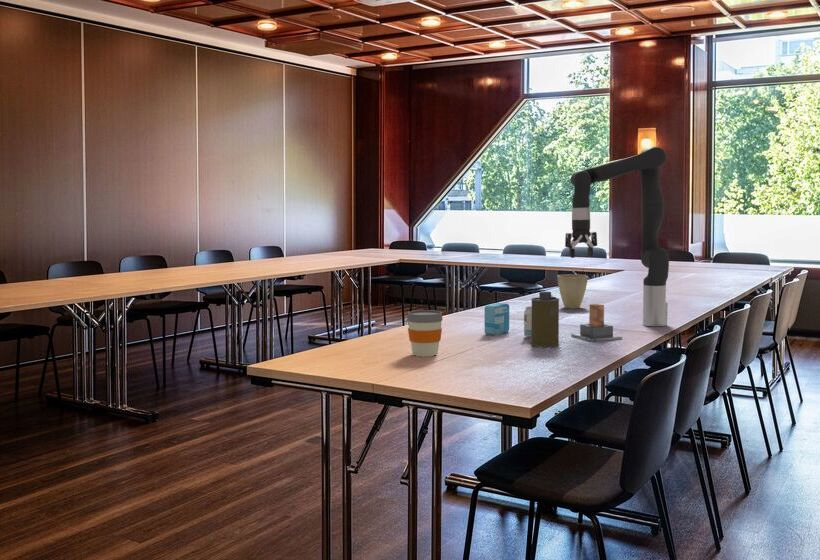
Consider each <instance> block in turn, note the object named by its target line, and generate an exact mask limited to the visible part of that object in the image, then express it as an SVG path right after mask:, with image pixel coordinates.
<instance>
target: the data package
mask: <svg viewBox="0 0 820 560" xmlns="http://www.w3.org/2000/svg"><path fill="white" fill-rule="evenodd" d="M509 331H510V305H509V303H505V302H504V303H503V302H497V303H490V304H486V305H485V306H484V334H485V335H486V336H487V335H488V336H499V335H503V334H506V333H509Z"/></svg>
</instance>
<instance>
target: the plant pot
mask: <svg viewBox="0 0 820 560" xmlns="http://www.w3.org/2000/svg"><path fill="white" fill-rule="evenodd" d="M588 278H589V276H588V275H586V274H573V273H571V274H558V275H557V284H558V290H559V295H560V297H561V302H562V304H563V306H564V308H565V309H570V308H571V310H572V309H580V307H581V305H582V303H583V300H584V297H585V293H586V289H587V285H588Z"/></svg>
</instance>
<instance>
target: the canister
mask: <svg viewBox="0 0 820 560" xmlns="http://www.w3.org/2000/svg"><path fill="white" fill-rule="evenodd" d="M538 294H539V296H538V297H532V298H530V300H531V307H532V339H531V343H530V345H531V346H532V347H536V348H537V347H538V348H556V347H558V346H560V341H559V338H560V335H559V333H560V332H559V329H560V325H559V324H560V323H559V322H560V319H559V318H560V317H559V316H560V298H559V297H556V296H553V295H552V292H551V291H540V292H538Z"/></svg>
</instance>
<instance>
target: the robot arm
mask: <svg viewBox="0 0 820 560" xmlns="http://www.w3.org/2000/svg"><path fill="white" fill-rule="evenodd" d="M666 160H667V154H666V152H665V150H664V149H662V147H660V146H648V147H646V148H643V150H641V152H640V153H639V154H636V155H633V156H630V157H629V156H628V157H625V158H621V159H617V160H612V161H609V162H604V163H601V164H598V165H596V166H592V167H589V168H584V169H581V170H576V171H575V172H574V173H572V175H571V176H570V183H571V185H572V186H573V187H574V190H573V191H574V192H573V195H572V199H571V200H572V210H571V230H572V233H571V232H566V233H565V240H564V241H565V242H564V243H565V245H564V247H565V248H567V249H569V257H570V258H571V259H574V258H576V253H575V252H576V250H575V247H576V246H577V245H578V244H582V243H583V244H585V245H586V246H587V258H588V257H589V258H591V257H593V255H594V247H597V246H598V235H597V234H598V233H597V232H596V231H591V210H590V193H591V188H592V187H591V186H592V184H595V183H602V182H605V181H609V180H612V179H614V178H618V177H621V176H624V175H626V174H630V173H634V172H637V171H638V172H639V171H640V179H641V180H640V181H641V188H640V189H641V190H640V193H641V194H640V195H641V197H640V198H641V199H640V200H641V203H640V204H641V205H640V206H641V207H640V208H641V210H640V213H641V245H640V246H641V247H640V261H641V264H642V265H643V266H644V267H645V268H647V269H648V273H647V275H646V276H645V277H644V278H643V289H642V290H643V291H642V292H643V293H642V294H643V295H642V325H643V326H645V327H664V326H667V325H668V302H666V300H667V296H666V294H667V291H666V290H667V281H668V278H669V269H670V268H669V266H670V256H669V253H668V251H667V250H666V249H665V248H663V247H659V233H660V228H661V227H662V224H663V220H664V215H665V199H664V195H663V191H662V188H661V186H660V185H661V184H660V181H659V173H660V172H659V169H660V168H661V167H662V166H663V165H664V164H665V163H666Z"/></svg>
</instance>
